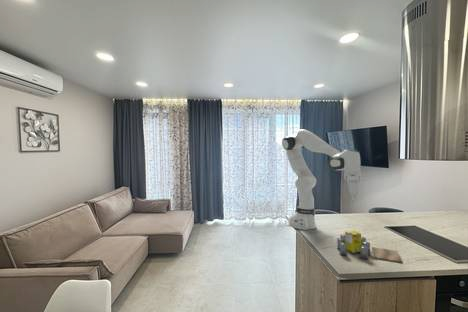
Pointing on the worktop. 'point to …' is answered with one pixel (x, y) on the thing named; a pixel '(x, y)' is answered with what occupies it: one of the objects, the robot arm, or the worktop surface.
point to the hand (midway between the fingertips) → (353, 199)
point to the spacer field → (363, 248)
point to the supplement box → (353, 241)
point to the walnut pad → (386, 255)
